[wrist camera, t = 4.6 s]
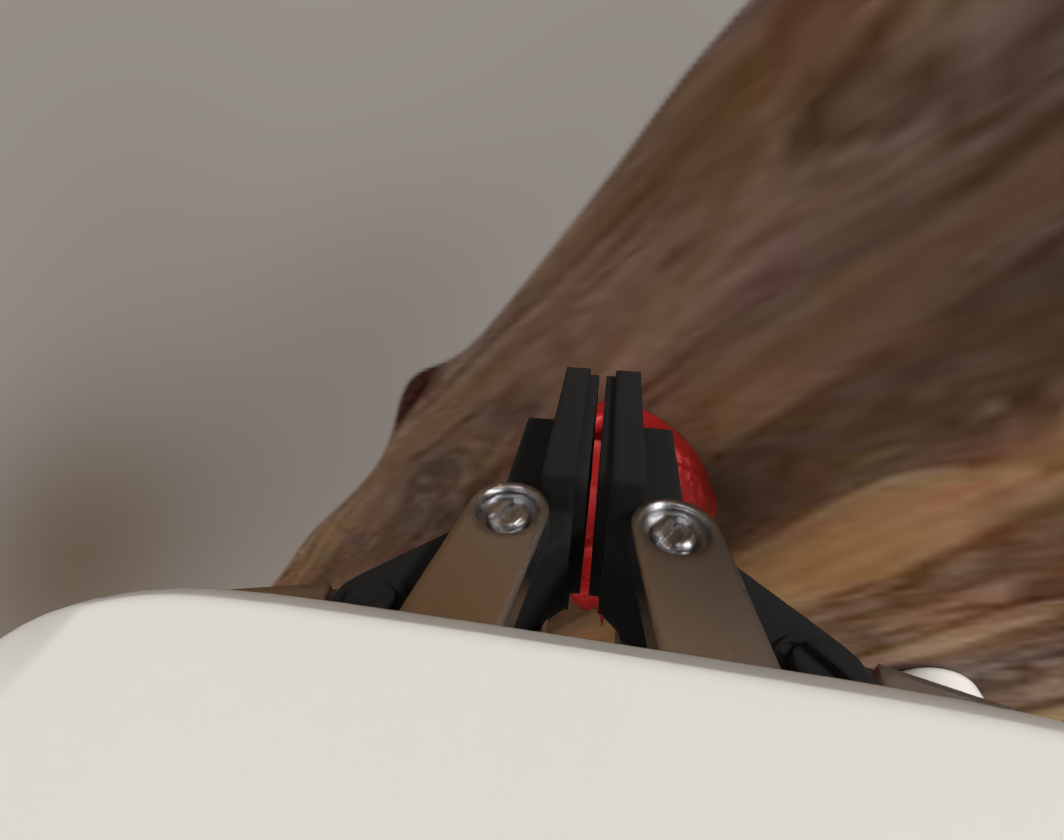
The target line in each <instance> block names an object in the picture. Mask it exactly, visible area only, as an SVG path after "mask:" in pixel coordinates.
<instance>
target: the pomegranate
mask: <svg viewBox="0 0 1064 840" xmlns="http://www.w3.org/2000/svg"><path fill="white" fill-rule="evenodd" d="M604 404H605V402H600V403H597V413H596V426H595V439H594V452H593V465H592V477H591V487H590V497H589V507H588V517H587V527H586V537H585V547H584V557H583V567H582V577H581V587H580V594H576V593H572V594H571V600H572V603H574V605H576V606H578V607H580V608H581V609H583V610H589V609H592V608H594V607H596V612H597V614H598V603H599V597H597V596H590V595H589V583H590V570H591V558H592V546H593V534H594V521H595V509H596V497H597V485H598V473H599V461H600V450H601V438H602V427H603V415H604ZM553 420H555V418H554V419H553ZM643 423H644V427H647V428H658V429H670V430H672V432H673V438H674V445H675V451H676V458H677V465H678V472H679V478H680V485H681V492H682V498H683V501H684V502H687V503H690V504H693V505H695V506H697V507H698V508H700V509H702V510H704V511H705V512H706V513H707V514H708V515H710V516H711V517H712V518H713V519H714V520H715V517H716V513H717V503H716V499H715V495H714V493H713V490H712V488H711V485H710V483H709V480H708V477H707V474H706V470H705V468H704V466H703V464H702V462H701V460H700V458H699V456H698V455H697V453H696V452H695V450H694V449H693V448H692V447H691V446H690V445H689V444H688V442H687V441H686V440H685V439H684V438H683V437H682V436H681V435H680V434H679V433H677V432H676V431H675V430H674V429H672V428H671V427H670V426H669V425H667V424H666V423H665V422H664V421H663V420H661V419H659V418H657V417H656V416H654V415H652V414H650V413H649V412H647V411H646V410H644V409H643ZM598 615H599V616H600V619H601V626H602V624H603V620H604V617H603V616H602V615H601V614H598Z"/></svg>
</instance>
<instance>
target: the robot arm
mask: <svg viewBox="0 0 1064 840" xmlns="http://www.w3.org/2000/svg"><path fill="white" fill-rule="evenodd" d="M598 388H599V375H591V369H587V368H572V367H567V371H566V375H565V379H564V383H563V387H562V391H561V395H560V399H559V404H558V408H557V412H556V416H555V420H552V419H540V418H529V419H528V422H527V425H526V428H525V431H524V434H523V437H522V440H521V443H520V446H519V449H518V452H517V455H516V458H515V461H514V464H513V467H512V470H511V473H510V476H509V479H508V482H506V483H498V484H494V485H491V486H488V487H486V488H484V489H483V490H481V491H479V492H478V493H477V494H476V495H475V496H474V497H473V498H472V499H471V500H470V502H469V503H468V505H467V506H466V508H465V509H464V511H463V512H462V514H461V515H460V517H459V519H458V520H457V522H456V523H455V525H454V526H453V528H452V529H451V531H450V532H449V533H446V534H444V535H442V536H440V537H438V538H436V539H434V540H432V541H430V542H428V543H426V544H423V545H421V546H419V547H417V548H415V549H413V550H411V551H409V552H407V553H405V554H402V555H400V556H398V557H396V558H394V559H392V560H390V561H388V562H386V563H384V564H382V565H379V566H377V567H375V568H373V569H371V570H369V571H367V572H365V573H363V574H361V575H359V576H357V577H355V578H353V579H352V580H350V581H348V582H347V583H345V584H344V585H343V586H342V587H341V588H340V589H332V587H331V584H330V583H323V584H308V585H292V586H277V587H261V588H246V589H231V590H229V589H216V588H172V589H159V590H146V591H135V592H129V593H124V594H119V595H113V596H108V597H102V598H97V599H93V600H89V601H85V602H82V603H78V604H74V605H71V606H68V607H65V608H62V609H59V610H56V611H53V612H50V613H47V614H45V615H43V616H41V617H38V618H36V619H34V620H32V621H30V622H28V623H26V624H24V625H22V626H20V627H18V628H17V629H15V630H13V631H12V632H10V633H9V634H7V635H5V636H4V637H2V638H0V840H1064V722H1062V721H1058V720H1054V719H1050V718H1047V717H1042V716H1038V715H1033V714H1029V713H1025V712H1022V711H1019V710H1016V709H1013V708H1010V707H1007V706H1004V705H1001V704H998V703H995V702H992V701H989V700H986V699H983V698H980V697H977V696H974V695H971V694H968V693H965V692H962V691H959V690H956V689H953V688H950V687H947V686H944V685H941V684H938V683H935V682H932V681H929V680H926V679H923V678H920V677H917V676H914V675H911V674H908V673H905V672H902V671H899V670H896V669H893V668H890V667H887V666H884V665H881V664H878V665H877V667H876V668H875V670H872V669H869V668H866V667H864V666H863V664H862V663H861V662H860V660H859V659H858V658H856V657H855V656H854V655H853V654H852V653H851V652H850V651H849V650H847V649H846V648H845V647H844V646H843V645H842V644H840V643H839V642H837V641H836V640H835V639H833V638H832V637H831V636H829V635H828V634H827V633H825V632H824V631H823V630H821V629H820V628H819V627H817V626H816V625H814V624H813V623H812V622H810V621H809V620H808V619H806V618H805V617H804V616H802V615H801V614H800V613H798V612H797V611H796V610H794V609H793V608H792V607H790V606H789V605H787V604H786V603H785V602H783V601H782V600H781V599H779V598H778V597H777V596H775V595H774V594H773V593H771V592H770V591H769V590H767V589H766V588H764V587H763V586H762V585H760V584H759V583H758V582H756V581H755V580H754V579H752V578H751V577H750V576H748V575H747V574H746V573H744V572H743V571H741V570H740V569H739V568H737V567H736V565H735V562H734V560H733V558H732V555H731V553H730V551H729V549H728V546H727V544H726V542H725V539H724V537H723V535H722V533H721V530H720V528H719V527H718V525H717V524H716V522H715V520H714V519H713V518H712V517H711V516H710V515H708V514H707V513H706V512H705V511H704V510H702V509H700V508H698V507H697V506H695V505H693V504H690V503H687V502H684V501H683V498H682V492H681V485H680V478H679V472H678V465H677V458H676V451H675V445H674V438H673V432H672V430H670V429H658V428H647V427H644V423H643V405H642V387H641V372H632V371H617V372H616V377H614V376H607V381H606V392H605V404H604V415H603V427H602V438H601V450H600V461H599V473H598V485H597V497H596V509H595V521H594V534H593V546H592V558H591V570H590V583H589V595H590V596H597V597H599V603H598V614H601V615H602V616H603V617H604V618H605V619H606V620H607V621H608V622H609V623H610V624H611V625H612V626H613V628H614V629H615V630H616V632H615V643H609V642H603V641H596V640H590V639H583V638H577V637H570V636H563V635H557V634H550V633H546V630H547V623H548V619H549V618H551V617H552V616H554V615H555V614H557V613H558V612H560V611H561V610H563V609H568V602H569V593H576V594H580V587H581V577H582V567H583V557H584V547H585V537H586V527H587V517H588V507H589V497H590V487H591V477H592V465H593V452H594V439H595V426H596V413H597V401H598Z"/></svg>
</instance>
